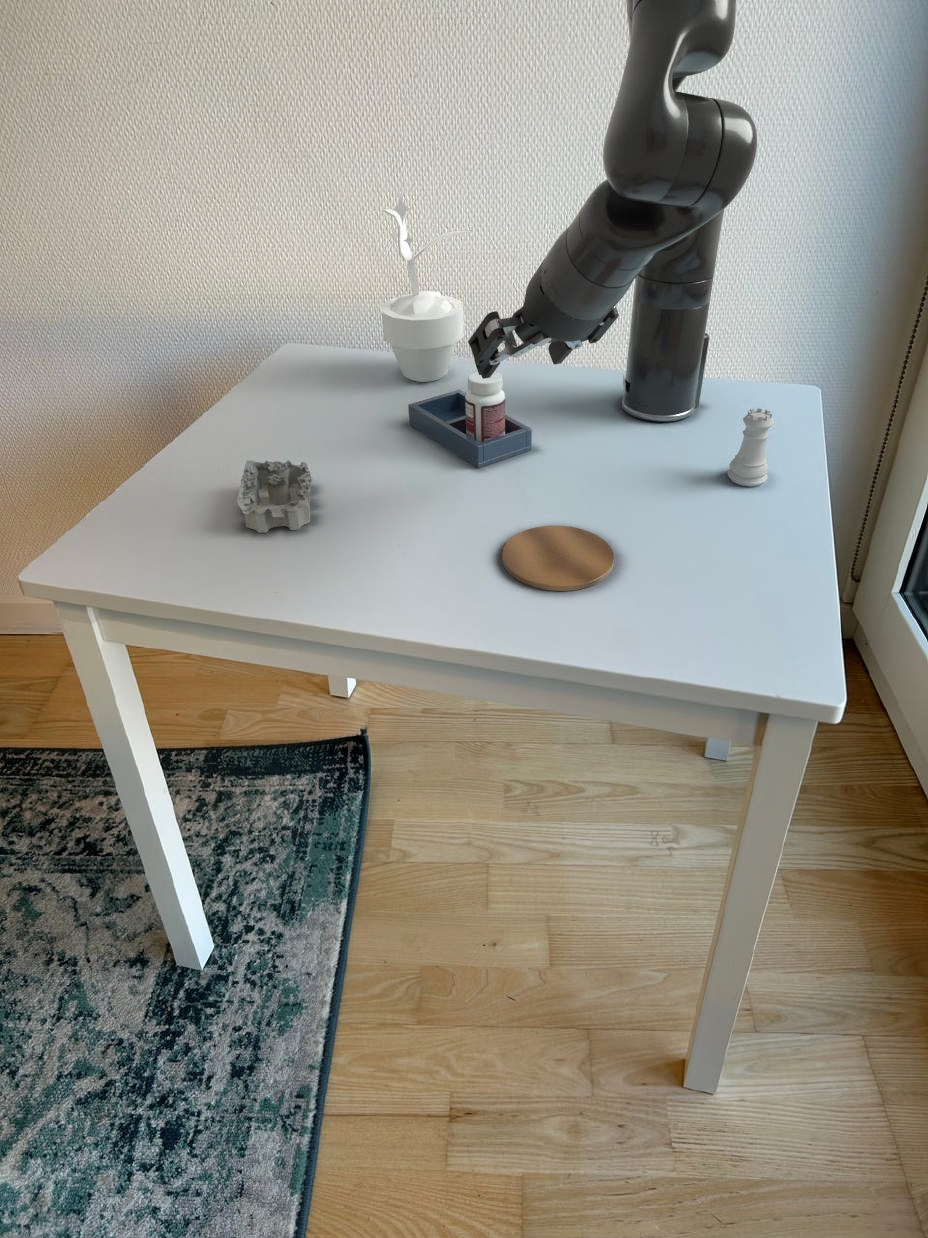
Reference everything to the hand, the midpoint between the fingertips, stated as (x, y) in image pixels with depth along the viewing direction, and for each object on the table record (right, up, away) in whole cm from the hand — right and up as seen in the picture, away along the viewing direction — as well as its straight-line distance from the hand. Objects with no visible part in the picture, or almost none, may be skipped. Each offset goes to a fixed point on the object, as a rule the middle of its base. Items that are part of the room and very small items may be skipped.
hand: (518, 363), depth 92 cm
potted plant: (-11, +8, +33) cm, 35 cm away
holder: (-5, -4, +16) cm, 18 cm away
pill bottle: (-3, -6, +14) cm, 15 cm away
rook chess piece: (+26, -11, +6) cm, 29 cm away
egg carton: (-26, -15, +3) cm, 30 cm away
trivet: (+4, -21, -6) cm, 23 cm away
